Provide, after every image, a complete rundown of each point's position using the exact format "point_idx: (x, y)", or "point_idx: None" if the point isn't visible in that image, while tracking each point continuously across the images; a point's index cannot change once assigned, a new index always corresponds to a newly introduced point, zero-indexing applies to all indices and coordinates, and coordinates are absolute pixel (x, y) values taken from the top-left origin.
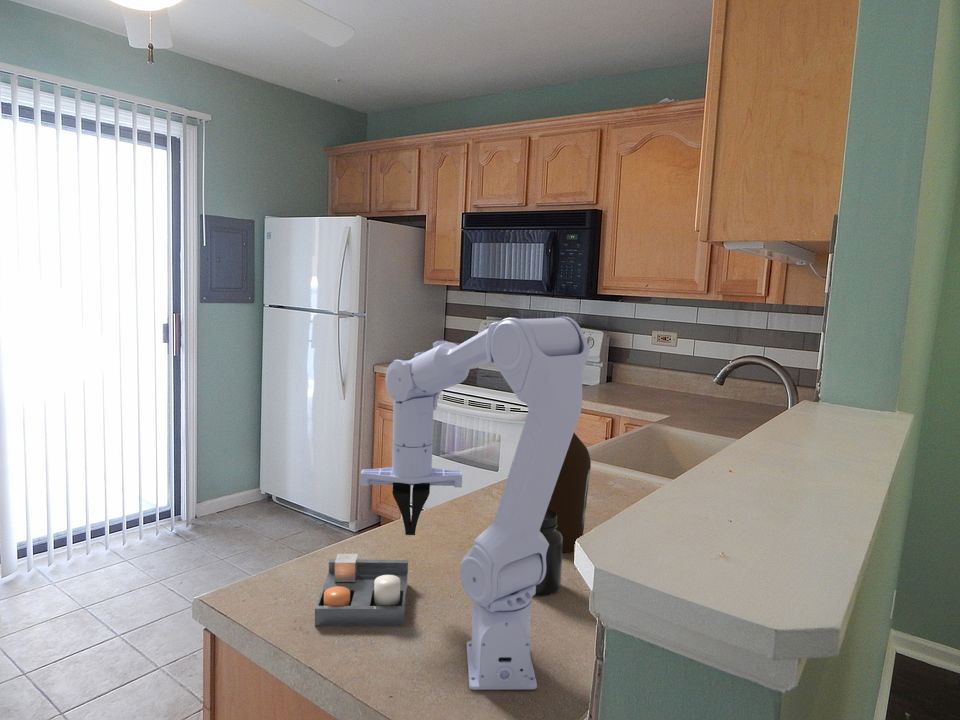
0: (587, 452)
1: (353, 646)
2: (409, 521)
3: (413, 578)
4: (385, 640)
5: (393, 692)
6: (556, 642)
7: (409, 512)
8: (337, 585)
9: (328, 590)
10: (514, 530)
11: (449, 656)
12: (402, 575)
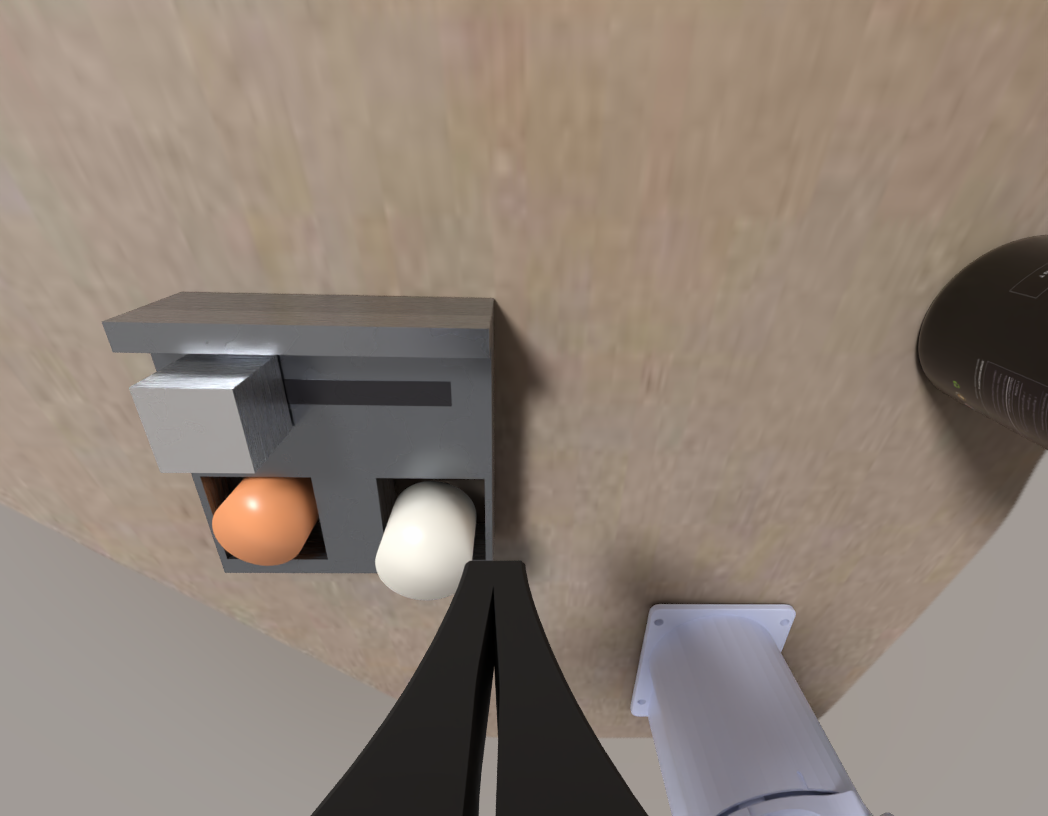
0: None
1: (381, 602)
2: (486, 727)
3: (515, 243)
4: None
5: (489, 707)
6: (869, 591)
7: (479, 751)
8: None
9: (223, 521)
10: None
11: (604, 630)
12: (471, 372)
